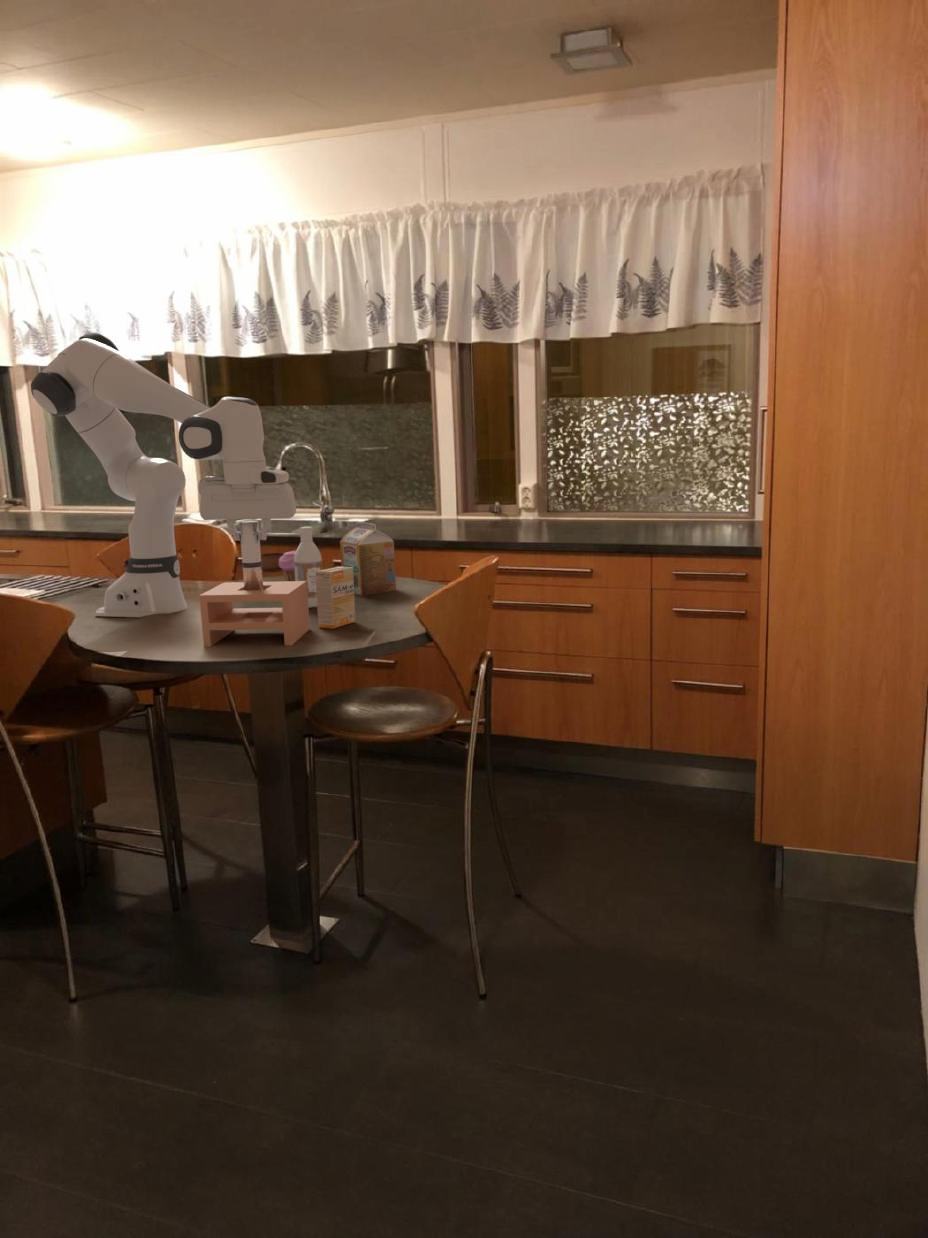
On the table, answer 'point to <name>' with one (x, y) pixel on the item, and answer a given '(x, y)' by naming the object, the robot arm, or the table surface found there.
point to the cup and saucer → (271, 562)
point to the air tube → (251, 555)
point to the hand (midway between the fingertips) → (250, 540)
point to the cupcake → (288, 565)
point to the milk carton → (369, 559)
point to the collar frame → (255, 610)
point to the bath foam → (308, 564)
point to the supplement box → (335, 597)
